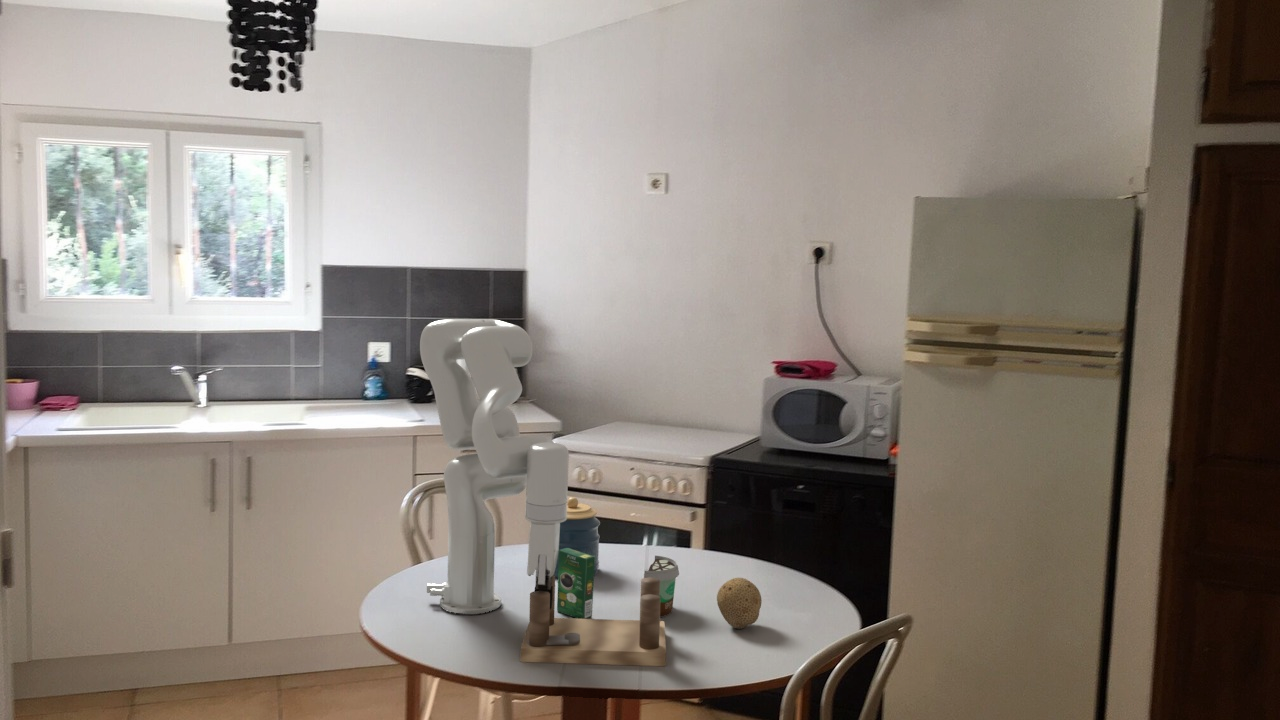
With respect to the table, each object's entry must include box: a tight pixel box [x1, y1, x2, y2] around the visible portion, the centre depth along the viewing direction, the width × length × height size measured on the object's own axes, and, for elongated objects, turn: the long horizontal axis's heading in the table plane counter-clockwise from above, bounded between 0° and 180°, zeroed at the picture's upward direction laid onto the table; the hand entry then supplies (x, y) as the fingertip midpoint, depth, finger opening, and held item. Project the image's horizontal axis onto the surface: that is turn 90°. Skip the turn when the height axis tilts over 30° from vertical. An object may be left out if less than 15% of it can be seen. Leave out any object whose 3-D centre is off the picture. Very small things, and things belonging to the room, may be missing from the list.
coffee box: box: [556, 548, 595, 619], centre depth 203 cm, size 8×3×13 cm, turn 49°
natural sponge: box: [716, 577, 762, 630], centre depth 199 cm, size 9×9×10 cm
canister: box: [553, 496, 601, 579], centre depth 232 cm, size 13×13×18 cm
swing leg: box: [528, 590, 580, 646], centre depth 181 cm, size 9×4×9 cm, turn 97°
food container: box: [643, 555, 680, 618], centre depth 207 cm, size 12×6×10 cm, turn 168°
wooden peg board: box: [519, 576, 667, 667], centre depth 186 cm, size 26×16×12 cm, turn 90°
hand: (543, 607), depth 185 cm, fingers closed
